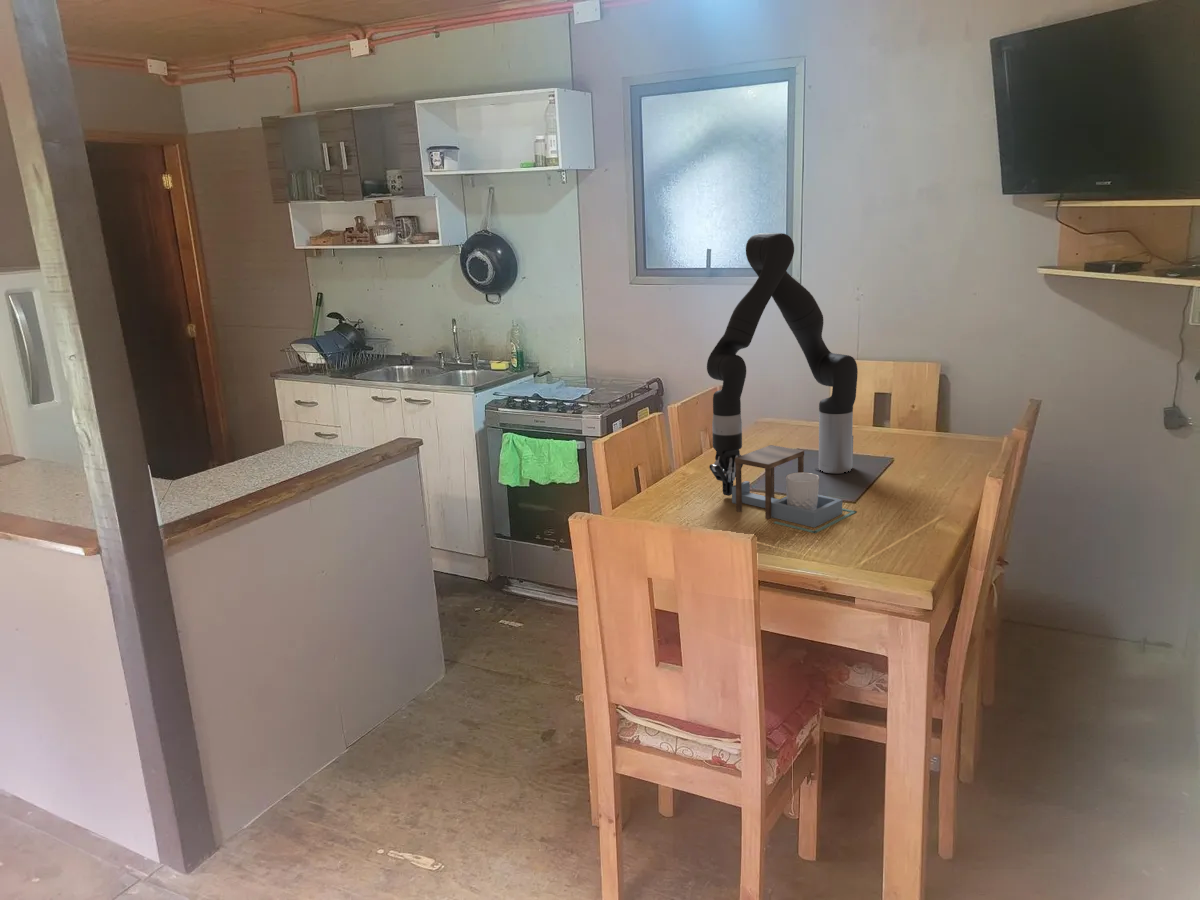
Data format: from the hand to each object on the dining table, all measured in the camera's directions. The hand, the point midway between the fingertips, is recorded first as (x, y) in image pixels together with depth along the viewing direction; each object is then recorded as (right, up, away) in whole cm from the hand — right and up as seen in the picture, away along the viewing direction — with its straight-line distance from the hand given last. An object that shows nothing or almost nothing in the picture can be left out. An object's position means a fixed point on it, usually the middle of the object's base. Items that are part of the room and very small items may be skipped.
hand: (728, 494), depth 228 cm
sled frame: (+12, -3, -11) cm, 17 cm away
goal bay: (+18, -5, -18) cm, 26 cm away
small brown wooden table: (+9, -3, -9) cm, 13 cm away
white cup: (+16, -5, -15) cm, 22 cm away
